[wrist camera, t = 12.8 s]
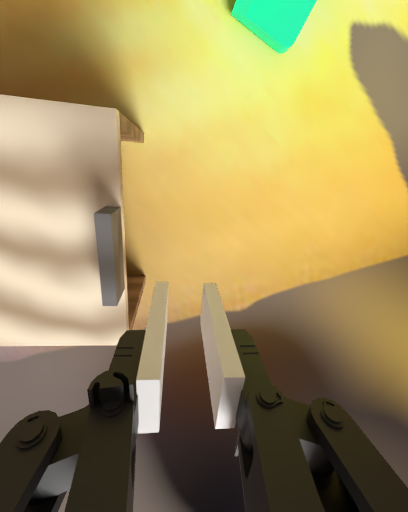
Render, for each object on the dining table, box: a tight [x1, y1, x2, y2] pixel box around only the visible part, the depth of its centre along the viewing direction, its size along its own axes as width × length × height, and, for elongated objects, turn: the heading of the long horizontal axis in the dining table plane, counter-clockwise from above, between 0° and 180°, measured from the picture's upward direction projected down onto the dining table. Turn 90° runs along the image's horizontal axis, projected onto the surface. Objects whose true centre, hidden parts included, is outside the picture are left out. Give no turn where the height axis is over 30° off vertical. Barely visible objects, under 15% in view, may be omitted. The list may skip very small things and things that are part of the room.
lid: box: [0, 94, 129, 346], centre depth 19 cm, size 22×14×4 cm, turn 175°
